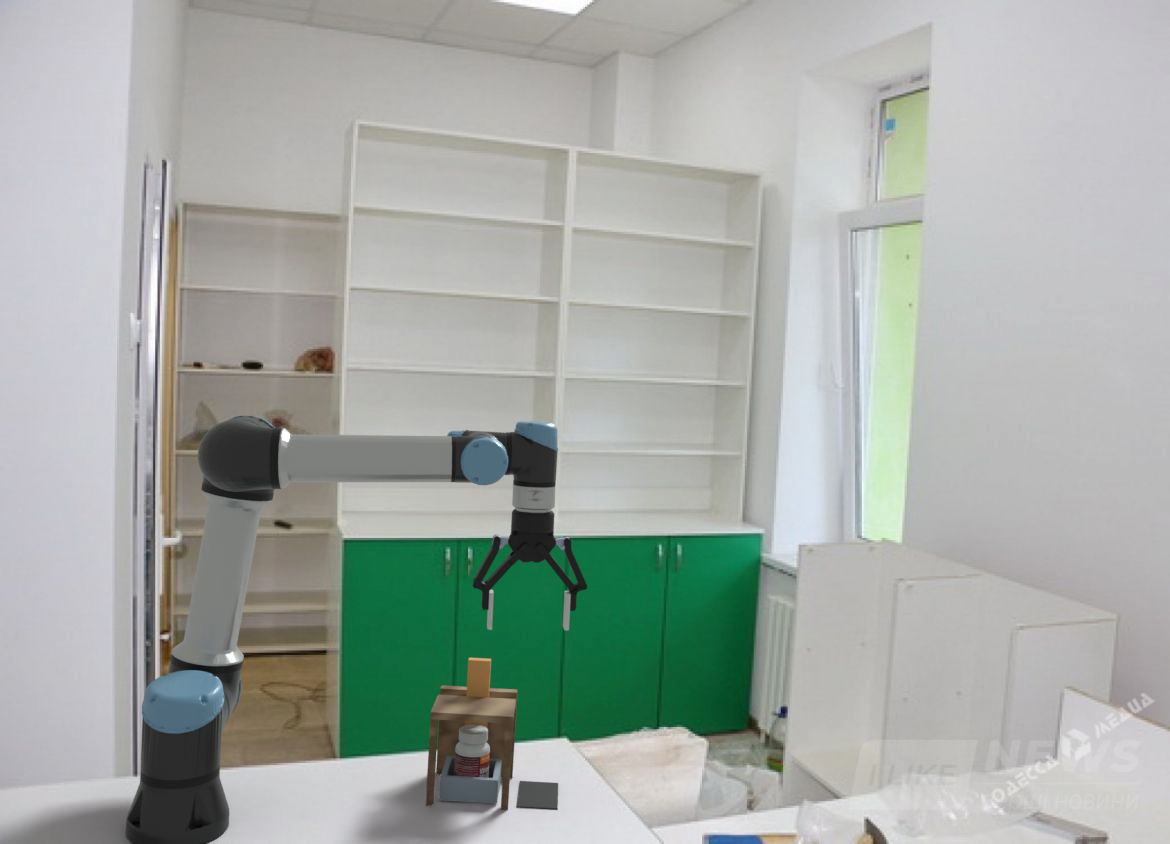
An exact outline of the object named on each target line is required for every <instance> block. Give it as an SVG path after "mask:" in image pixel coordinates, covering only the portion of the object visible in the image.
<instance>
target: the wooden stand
mask: <svg viewBox="0 0 1170 844" xmlns="http://www.w3.org/2000/svg"><path fill="white" fill-rule="evenodd" d="M439 689H440V692H439V694H437V696H436V699H435V701H434V703H433V706H432V708H431V711H430V719H429V738H428V739H429V740H428V753H427V754H428V756H427V758H428V759H427V773H426V775H427V776H426V795H425V807H426V806H427V807H428V806H429V807H433V806H434V801H435V785H436V775H441V773H442V770H443V767H444V764H445V760H446V757H447V756H455V748H456V745H457V743H458V742H460V741H459V729H460V728H461V727H462V726H465V721H473V722H488V724H487V729H488V740H487V743H488V744H489V746H490V758H496V759H502V767H501V777H502V778H501V779H502V780H501V798H500V800H501V801H500V811H508V809H509V800H510V799H509V798H510V785H511V784H510V782H511V779H513V772H514V759H515V758H514V757H515V756H514V755H515V741H516V725H517V723H516V722H517V706H518V705H517V704H518V703H517V702H518V691H519V690H518V689H515V688H511V689H510V688H498V687H497V688H494V687H490V690H489V698H488V697H470V696H466V693H467V686H459V685H441V686H440V688H439Z"/></svg>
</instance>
